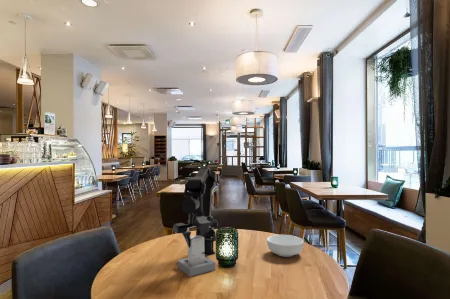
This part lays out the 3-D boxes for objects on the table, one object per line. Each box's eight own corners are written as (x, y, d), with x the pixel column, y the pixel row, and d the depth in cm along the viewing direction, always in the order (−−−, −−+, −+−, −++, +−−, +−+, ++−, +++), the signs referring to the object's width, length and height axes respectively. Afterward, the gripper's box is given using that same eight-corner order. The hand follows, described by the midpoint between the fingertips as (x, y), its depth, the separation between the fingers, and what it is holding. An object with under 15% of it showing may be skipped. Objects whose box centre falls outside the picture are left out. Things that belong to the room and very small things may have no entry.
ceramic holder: (201, 261, 129) (201, 254, 129) (215, 269, 119) (215, 262, 119) (177, 267, 122) (177, 260, 122) (189, 276, 112) (189, 269, 112)
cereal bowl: (263, 257, 132) (263, 242, 132) (271, 247, 148) (271, 233, 148) (301, 262, 126) (300, 246, 126) (305, 250, 141) (305, 236, 142)
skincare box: (192, 269, 117) (191, 240, 117) (187, 265, 121) (186, 237, 121) (205, 265, 121) (204, 237, 120) (200, 261, 125) (199, 234, 124)
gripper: (183, 214, 109) (184, 256, 109) (224, 209, 120) (225, 246, 119) (172, 210, 119) (172, 248, 118) (210, 205, 129) (211, 240, 129)
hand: (196, 245), depth 121 cm, fingers closed on skincare box, 6 cm apart
